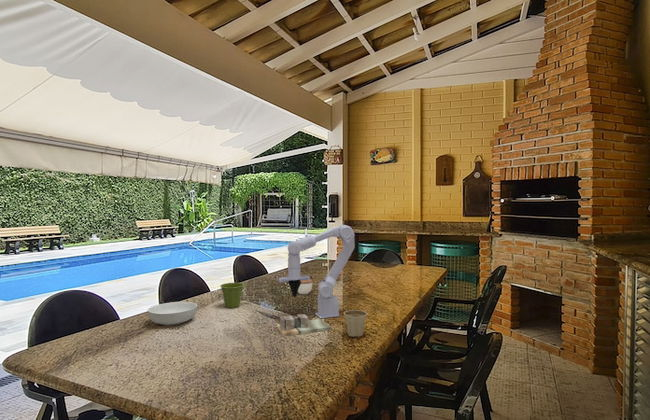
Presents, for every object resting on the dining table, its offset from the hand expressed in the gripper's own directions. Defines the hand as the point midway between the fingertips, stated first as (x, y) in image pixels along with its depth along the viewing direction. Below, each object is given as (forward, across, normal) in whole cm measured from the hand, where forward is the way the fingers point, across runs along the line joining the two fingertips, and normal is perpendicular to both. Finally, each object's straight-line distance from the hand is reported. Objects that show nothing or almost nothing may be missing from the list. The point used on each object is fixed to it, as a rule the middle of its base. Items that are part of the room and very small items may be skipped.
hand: (294, 296), depth 177 cm
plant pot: (+10, +25, -29) cm, 40 cm away
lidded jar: (+10, -18, -43) cm, 48 cm away
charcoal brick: (+8, +4, +18) cm, 20 cm away
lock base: (+9, +1, +18) cm, 20 cm away
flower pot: (+10, -16, +33) cm, 38 cm away
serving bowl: (+10, +53, -14) cm, 56 cm away
